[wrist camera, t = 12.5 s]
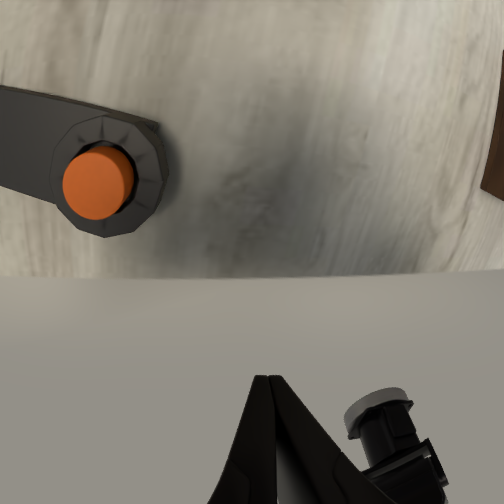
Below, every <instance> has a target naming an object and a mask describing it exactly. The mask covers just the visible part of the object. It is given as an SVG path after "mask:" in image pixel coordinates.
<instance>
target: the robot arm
mask: <svg viewBox="0 0 504 504" xmlns="http://www.w3.org/2000/svg"><path fill="white" fill-rule="evenodd" d="M413 404H414V403H413V401H412V400H409V401H404V402H398V403H392V404H386V405H380V406H373V407H368V408H366V409H365V410H364V412H363V413H362V415H361V416H360V418H359V420H358V421H357V423H356V424H355V426H354V427H353V429H352V430H351V432H350V433H349V435H348V439H349V440H352V439H358V438H360V439H361V442H362V445H363V448H364V451H365V454H366V457H367V460H368V463H369V466H370V468H369V469H367V470H364V471H362V472H361V471H359V470H358V469H357V468H356V467H355V466H354V464H353V463H352V462H351V461H350V460H349V459H348V458H347V456H346V455H345V454H344V453H343V452H341V449H340V448H339V447H338V446H337V445H336V443H335V442H334V441H333V440H332V439H331V437H330V436H329V435H328V434H327V432H326V431H325V430H324V429H323V428H322V426H321V425H320V424H319V423H318V422H317V420H316V419H315V418H314V416H313V415H312V414H311V413H310V412H309V410H308V409H307V408H306V406H305V405H304V404H303V403H302V401H301V400H300V399H299V398H298V396H297V395H296V394H295V392H294V391H293V390H292V389H291V387H290V386H289V385H288V383H286V381H285V380H284V378H283V377H282V376H280V375H269V376H267V375H255V377H254V379H253V382H252V385H251V389H250V392H249V395H248V398H247V402H246V404H245V407H244V411H243V413H242V417H241V420H240V423H239V426H238V429H237V432H236V435H235V438H234V441H233V444H232V447H231V450H230V453H229V455H228V459H227V461H226V464H225V467H224V470H223V472H222V475H221V477H220V480H219V482H218V484H217V486H216V488H215V490H214V492H213V494H212V496H211V498H210V499H209V501H208V503H207V504H277V497H278V501H279V504H448V500H447V497H446V495H445V493H444V490H443V487H445V486H447V485H448V484H449V483H448V480H447V478H446V475H445V473H444V471H443V468H442V466H441V464H440V462H439V460H438V457H437V455H436V453H435V451H434V449H433V446H432V444H431V442H430V440H429V438H427V439H425V440H424V441H423V442H421V443H420V441H419V438H418V436H417V434H416V428H415V426H414V424H413V422H412V420H411V418H410V416H409V413H408V411H409V410H410V409H411V407H412V406H413ZM428 455H431V457H429V458H428V457H427V458H425V457H426V456H428Z"/></svg>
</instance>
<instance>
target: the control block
mask: <svg viewBox="0 0 504 504" xmlns="http://www.w3.org/2000/svg"><path fill="white" fill-rule="evenodd" d="M157 127H158V122H155V121H152V120H148V119H145V118H141V117H138V116H134V115H131V114H127V113H123V112H120V111H116V110H112V109H108V108H104V107H101V106H97V105H93V104H88V103H84V102H80V101H76V100H71V99H67V98H63V97H58V96H53V95H48V94H44V93H38V92H33V91H28V90H23V89H17V88H11V87H5V86H0V186H3V187H6V188H9V189H12V190H14V191H17V192H20V193H23V194H26V195H29V196H32V197H35V198H38V199H41V200H44V201H47V202H50V203H53V204H56V205H57V207H58V209H59V210H60V211H61V212H62V213H63V214H64V215H65V217H66V218H67V219H68V220H69V221H70V222H71V223H72V224H73V225H74V226H75V227H76V228H77V229H79V230H82V231H85V232H88V233H91V234H94V235H97V236H100V237H103V238H107V237H112V236H117V235H122V234H126V233H131V232H134V231H135V230H136V229H137V228H138V227H139V226H140V225H141V224H143V223H144V222H145V221H146V220H147V219H148V218H149V217H150V216H151V215H152V214H153V213H154V212H155V210H156V209H157V207H158V205H159V203H160V201H161V198H162V195H163V192H164V189H165V186H166V182H167V179H168V176H169V169H168V164H167V160H166V155H165V150H164V145H163V144H162V141H161V140H160V139H159V138H158V137H157V136H156V135H155V133H156V130H157ZM99 146H109V147H113V148H115V149H117V150H119V151H120V152H122V153H123V154H124V155H125V156H126V157H127V158H128V160H129V162H130V163H131V166H132V169H133V173H134V184H133V188H132V191H131V193H130V195H129V196H128V198H127V199H126V200H125V201H124V203H123V204H122V205H121V206H120V207H119V209H118V210H117V211H116V212H115V213H114V214H112V215H111V216H109V217H107V218H104V219H100V220H92V219H87V218H84V217H82V216H80V215H78V214H77V213H76V212H75V211H74V210H73V209H72V208H71V207H70V206H69V204H68V203H67V201H66V199H65V196H64V192H63V177H64V173H65V170H66V168H67V166H68V165H69V164H70V162H71V161H72V160H73V159H74V158H76V157H77V156H79V155H81V154H83V153H85V152H87V151H89V150H91V149H93V148H95V147H99Z"/></svg>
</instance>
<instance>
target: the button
mask: <svg viewBox="0 0 504 504" xmlns="http://www.w3.org/2000/svg"><path fill="white" fill-rule="evenodd" d="M133 184H134V173H133V169H132V166H131V163H130V162H129V160H128V158H127V157H126V156H125V155H124V154H123V153H122V152H120V151H119V150H117V149H115V148H113V147H109V146H99V147H95V148H93V149H91V150H89V151H87V152H85V153H83V154H81V155H79V156H77V157H76V158H74V159H73V160H72V161H71V162H70V164H69V165H68V166H67V168H66V170H65V173H64V177H63V192H64V196H65V199H66V201H67V203H68V204H69V206H70V207H71V208H72V209H73V210H74V211H75V212H76V213H77V214H78V215H80V216H82V217H84V218H87V219H92V220H100V219H104V218H107V217H109V216H111V215H112V214H114V213H115V212H116V211H117V210H118V209H119V207H120V206H121V205H122V204H123V203H124V201H125V200H126V199H127V198H128V196H129V195H130V193H131V191H132V188H133Z"/></svg>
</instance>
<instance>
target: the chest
mask: <svg viewBox="0 0 504 504" xmlns="http://www.w3.org/2000/svg"><path fill="white" fill-rule="evenodd" d="M480 188H481V189H482V190H484V191H486V192H488V193H490V194H492V195H493V196H495V197H497V198H499V199H500V200H502V201H504V50H503V63H502V75H501V85H500V93H499V101H498V108H497V114H496V120H495V126H494V131H493V137H492V142H491V146H490V151H489V156H488V160H487V164H486V168H485V172H484V176H483V180H482V184H481V187H480Z"/></svg>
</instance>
